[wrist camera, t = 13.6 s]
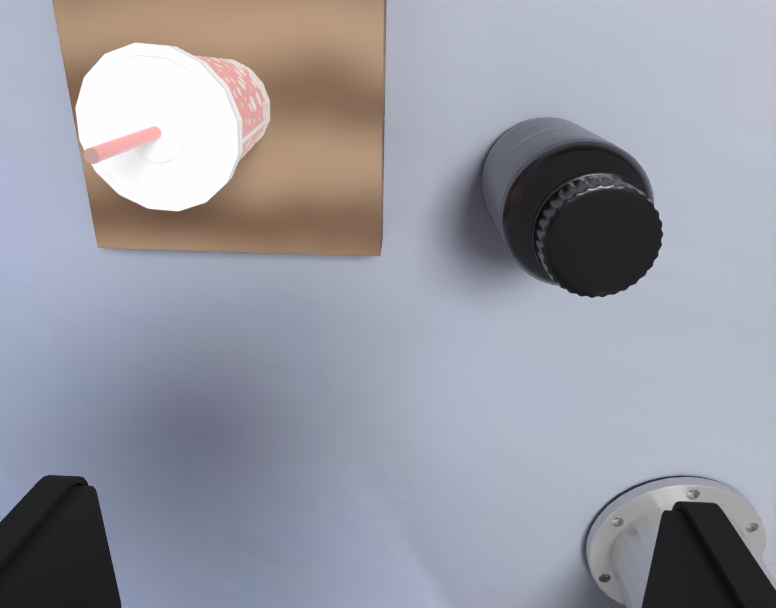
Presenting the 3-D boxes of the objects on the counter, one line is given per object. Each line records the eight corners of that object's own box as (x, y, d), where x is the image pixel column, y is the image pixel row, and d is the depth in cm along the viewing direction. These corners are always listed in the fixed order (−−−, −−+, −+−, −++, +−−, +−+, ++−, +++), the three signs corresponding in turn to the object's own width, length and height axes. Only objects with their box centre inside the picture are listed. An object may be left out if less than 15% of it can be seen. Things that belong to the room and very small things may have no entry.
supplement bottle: (472, 229, 36) (499, 313, 25) (489, 110, 33) (528, 145, 22) (586, 239, 36) (664, 327, 25) (612, 121, 33) (713, 161, 22)
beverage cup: (174, 24, 29) (-13, 14, 16) (297, 62, 30) (208, 80, 17) (159, 148, 32) (-14, 223, 19) (272, 180, 32) (179, 276, 19)
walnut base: (382, 239, 36) (380, 256, 34) (121, 232, 37) (97, 247, 34) (387, -68, 30) (385, -79, 27) (70, -74, 30) (36, -85, 27)
